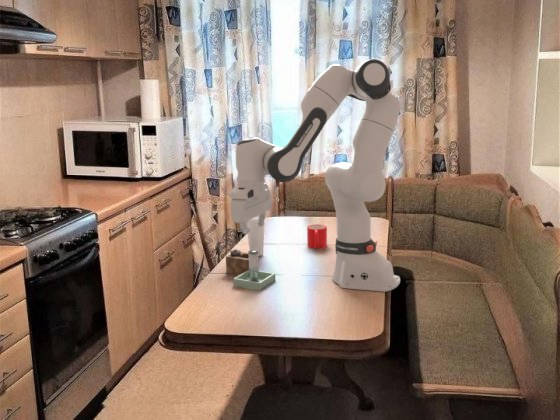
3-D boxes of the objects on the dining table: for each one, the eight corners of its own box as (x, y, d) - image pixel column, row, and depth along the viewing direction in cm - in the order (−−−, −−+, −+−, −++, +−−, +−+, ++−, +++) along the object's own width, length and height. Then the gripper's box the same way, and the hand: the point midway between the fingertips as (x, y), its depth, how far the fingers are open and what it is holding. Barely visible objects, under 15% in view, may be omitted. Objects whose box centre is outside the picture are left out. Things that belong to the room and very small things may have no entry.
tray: (275, 280, 196) (275, 273, 195) (260, 290, 187) (259, 283, 187) (249, 276, 201) (249, 269, 200) (233, 285, 192) (233, 278, 191)
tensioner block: (258, 270, 206) (257, 249, 205) (248, 276, 200) (247, 254, 199) (237, 266, 211) (236, 246, 209) (226, 272, 205) (225, 251, 203)
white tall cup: (263, 257, 220) (261, 219, 217) (245, 257, 222) (244, 219, 218) (267, 252, 227) (265, 215, 223) (250, 251, 228) (248, 214, 225)
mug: (307, 251, 227) (306, 232, 225) (307, 242, 239) (307, 224, 237) (327, 251, 226) (327, 232, 225) (326, 242, 238) (326, 224, 236)
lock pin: (260, 280, 194) (259, 250, 192) (256, 283, 192) (254, 253, 189) (252, 279, 196) (251, 249, 193) (247, 282, 193) (246, 252, 191)
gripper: (259, 181, 197) (261, 220, 200) (225, 194, 179) (229, 237, 183) (275, 182, 194) (277, 222, 197) (243, 195, 176) (246, 238, 180)
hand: (253, 229), depth 190 cm, fingers open, 8 cm apart
